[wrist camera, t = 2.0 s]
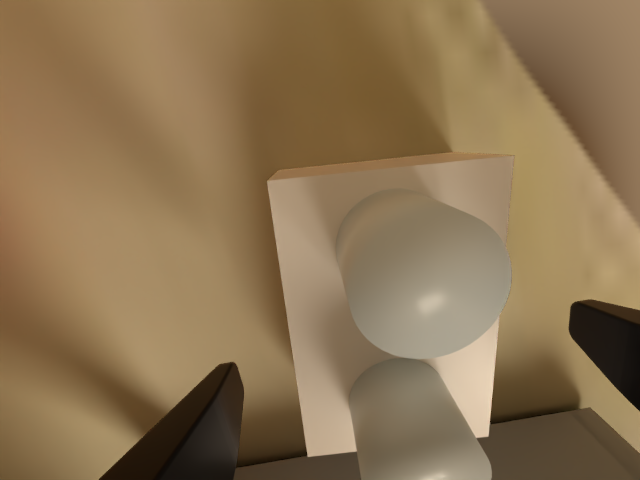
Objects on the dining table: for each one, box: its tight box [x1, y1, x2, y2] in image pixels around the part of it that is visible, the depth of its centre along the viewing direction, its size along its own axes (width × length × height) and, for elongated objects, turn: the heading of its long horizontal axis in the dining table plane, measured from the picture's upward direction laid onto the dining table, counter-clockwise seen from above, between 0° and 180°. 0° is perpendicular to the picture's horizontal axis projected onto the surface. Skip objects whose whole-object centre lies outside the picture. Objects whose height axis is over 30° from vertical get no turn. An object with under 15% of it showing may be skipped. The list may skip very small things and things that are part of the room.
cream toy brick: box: [267, 152, 514, 480], centre depth 9 cm, size 6×9×6 cm, turn 5°
